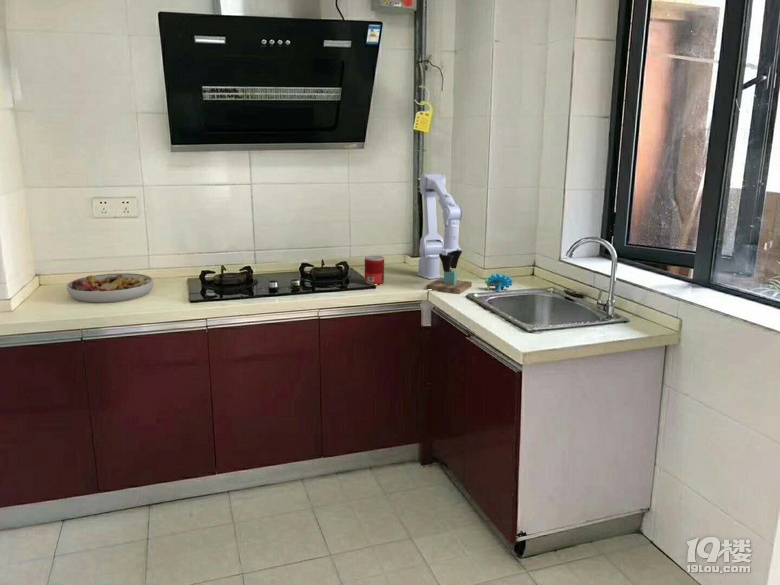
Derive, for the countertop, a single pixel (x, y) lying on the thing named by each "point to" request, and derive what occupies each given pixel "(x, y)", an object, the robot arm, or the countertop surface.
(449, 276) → the post
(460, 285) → the slot plate
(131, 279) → the bowl
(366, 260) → the canned food
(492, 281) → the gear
